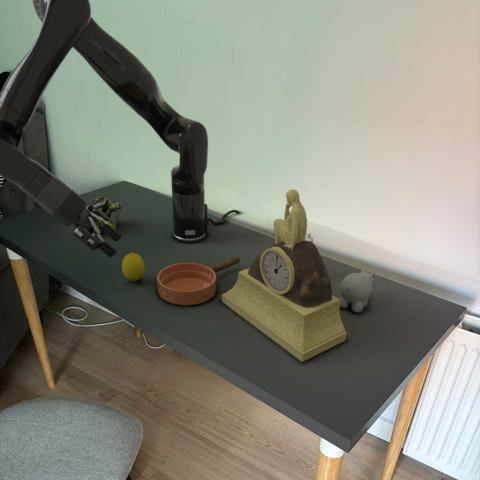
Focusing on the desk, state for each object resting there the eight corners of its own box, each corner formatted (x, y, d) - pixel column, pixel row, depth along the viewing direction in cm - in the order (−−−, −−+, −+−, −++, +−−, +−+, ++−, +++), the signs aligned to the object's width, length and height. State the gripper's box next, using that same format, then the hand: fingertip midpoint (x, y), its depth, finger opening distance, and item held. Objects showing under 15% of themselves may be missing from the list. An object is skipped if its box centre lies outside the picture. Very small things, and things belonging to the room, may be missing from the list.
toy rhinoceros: (382, 297, 126) (388, 266, 121) (359, 317, 118) (365, 286, 113) (356, 287, 130) (361, 257, 125) (332, 306, 122) (337, 275, 117)
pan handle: (236, 260, 136) (236, 254, 135) (241, 263, 135) (241, 257, 134) (204, 274, 129) (204, 267, 128) (209, 276, 128) (209, 270, 127)
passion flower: (103, 240, 160) (113, 203, 160) (125, 244, 153) (135, 206, 153) (73, 229, 151) (83, 190, 151) (95, 233, 144) (106, 192, 144)
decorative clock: (221, 301, 122) (223, 178, 105) (263, 286, 129) (270, 168, 112) (302, 362, 104) (319, 225, 87) (345, 340, 111) (369, 209, 94)
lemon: (141, 288, 126) (138, 259, 122) (120, 285, 127) (116, 256, 123) (149, 277, 131) (146, 249, 126) (128, 274, 132) (125, 246, 127)
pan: (191, 270, 134) (191, 257, 132) (227, 292, 126) (228, 278, 124) (146, 288, 126) (145, 274, 124) (182, 313, 118) (181, 298, 115)
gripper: (63, 201, 109) (123, 250, 116) (76, 179, 120) (130, 224, 128) (42, 224, 111) (102, 270, 119) (57, 200, 123) (111, 243, 130)
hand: (116, 246), depth 123 cm, fingers open, 8 cm apart
